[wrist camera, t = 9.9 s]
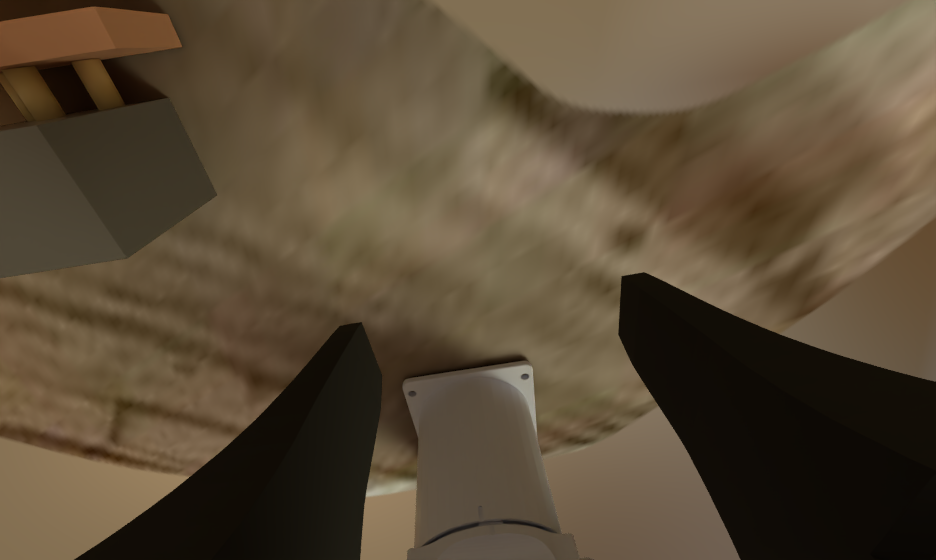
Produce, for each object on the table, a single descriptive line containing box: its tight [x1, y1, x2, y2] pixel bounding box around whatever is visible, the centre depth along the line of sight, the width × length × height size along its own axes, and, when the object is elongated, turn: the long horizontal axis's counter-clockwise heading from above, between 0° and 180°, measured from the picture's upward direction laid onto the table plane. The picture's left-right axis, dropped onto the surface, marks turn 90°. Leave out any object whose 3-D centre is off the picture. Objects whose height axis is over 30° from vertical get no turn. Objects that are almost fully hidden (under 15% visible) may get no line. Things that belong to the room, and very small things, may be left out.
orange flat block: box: [0, 6, 182, 73], centre depth 13 cm, size 1×8×4 cm, turn 98°
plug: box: [0, 59, 217, 278], centre depth 13 cm, size 6×5×6 cm
